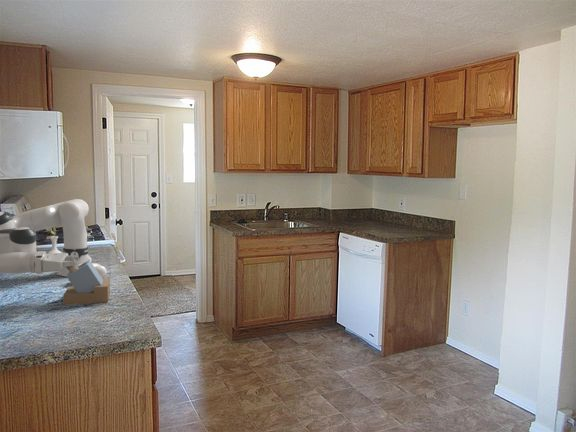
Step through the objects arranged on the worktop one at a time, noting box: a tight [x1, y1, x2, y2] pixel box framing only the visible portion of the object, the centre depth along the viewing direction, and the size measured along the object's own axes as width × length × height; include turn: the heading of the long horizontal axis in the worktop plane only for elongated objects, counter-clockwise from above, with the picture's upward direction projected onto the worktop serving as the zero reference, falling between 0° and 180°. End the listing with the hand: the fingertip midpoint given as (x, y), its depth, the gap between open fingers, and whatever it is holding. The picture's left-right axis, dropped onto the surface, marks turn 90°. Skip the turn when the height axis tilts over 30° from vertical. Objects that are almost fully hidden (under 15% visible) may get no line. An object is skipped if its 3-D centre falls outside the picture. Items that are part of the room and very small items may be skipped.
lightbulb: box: [95, 264, 108, 279], centre depth 218 cm, size 6×6×11 cm
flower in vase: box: [45, 227, 63, 254], centre depth 278 cm, size 13×11×25 cm
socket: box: [62, 260, 111, 306], centre depth 201 cm, size 14×17×16 cm
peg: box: [66, 265, 79, 273], centre depth 200 cm, size 3×3×12 cm
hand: (77, 260), depth 199 cm, fingers open, 8 cm apart
